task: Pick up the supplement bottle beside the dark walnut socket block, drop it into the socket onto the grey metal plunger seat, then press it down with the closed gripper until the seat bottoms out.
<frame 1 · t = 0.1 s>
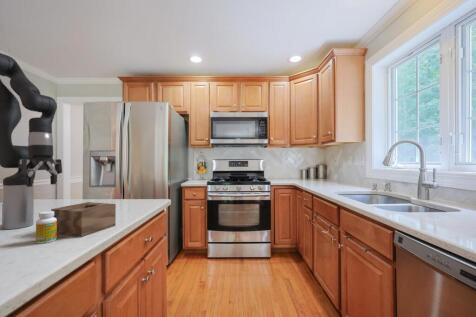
hand: (41, 185, 92), 17 cm above the worktop, tool pointing down, fingers open, 8 cm apart
socket block: (85, 229, 91), on the worktop
supplement bottle: (46, 241, 78), on the worktop
plunger: (85, 215, 91), point 5 cm above the worktop, slide at 0.0 cm
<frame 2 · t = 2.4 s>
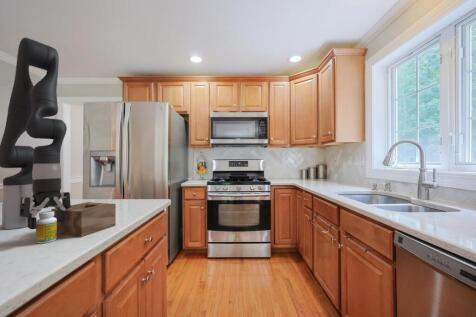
hand: (47, 225, 78), 5 cm above the worktop, tool pointing down, fingers open, 8 cm apart
nothing on the worktop moved.
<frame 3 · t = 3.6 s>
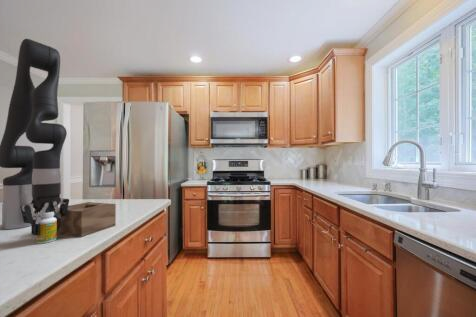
hand: (46, 232, 78), 3 cm above the worktop, tool pointing down, fingers closed on supplement bottle, 5 cm apart
supplement bottle: (46, 241, 78), on the worktop, touching gripper
everything else where it was.
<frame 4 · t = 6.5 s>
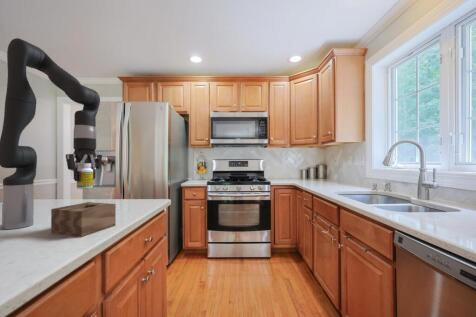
hand: (84, 180, 91), 19 cm above the worktop, tool pointing down, fingers closed on supplement bottle, 5 cm apart
supplement bottle: (84, 188, 91), point 16 cm above the worktop, touching gripper
everything else where it was.
when the fingers open (10 cm above the worktop, at t = 9.5 s): supplement bottle drops 4 cm, resting on plunger.
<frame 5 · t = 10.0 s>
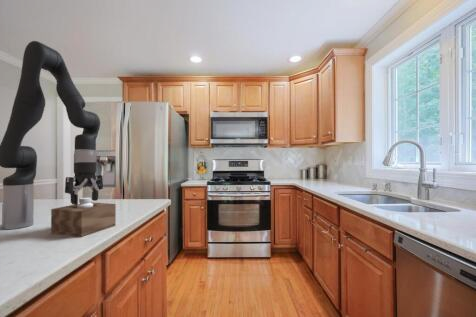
hand: (85, 202, 91), 11 cm above the worktop, tool pointing down, fingers open, 8 cm apart
supplement bottle: (85, 223, 91), point 2 cm above the worktop, touching plunger
plunger: (85, 224, 91), point 2 cm above the worktop, slide at 3.5 cm, touching supplement bottle, socket block
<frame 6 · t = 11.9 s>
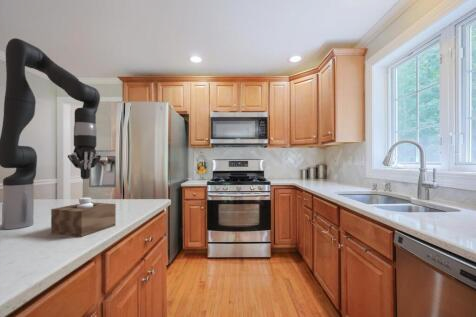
hand: (85, 178, 91), 20 cm above the worktop, tool pointing down, fingers closed
nothing on the worktop moved.
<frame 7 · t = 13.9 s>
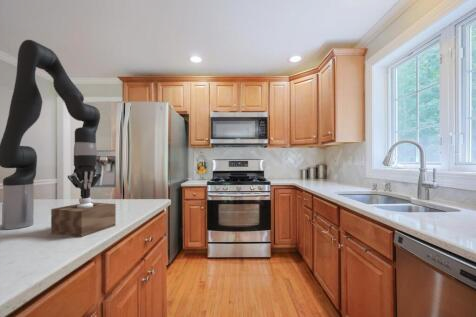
hand: (85, 198, 91), 12 cm above the worktop, tool pointing down, fingers closed
supplement bottle: (85, 223, 91), point 2 cm above the worktop, touching gripper, plunger
everything else where it was.
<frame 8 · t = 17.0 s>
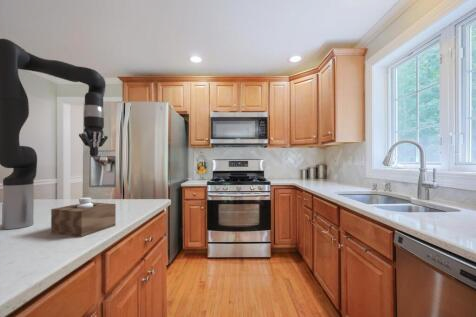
hand: (93, 156, 102), 29 cm above the worktop, tool pointing down, fingers closed
supplement bottle: (85, 223, 91), point 2 cm above the worktop, touching plunger
everything else where it was.
at the end: plunger slide at 3.5 cm; supplement bottle 0.1 cm off-centre on the socket block, point 2.3 cm above the socket block's base; supplement bottle tilted 0° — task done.
